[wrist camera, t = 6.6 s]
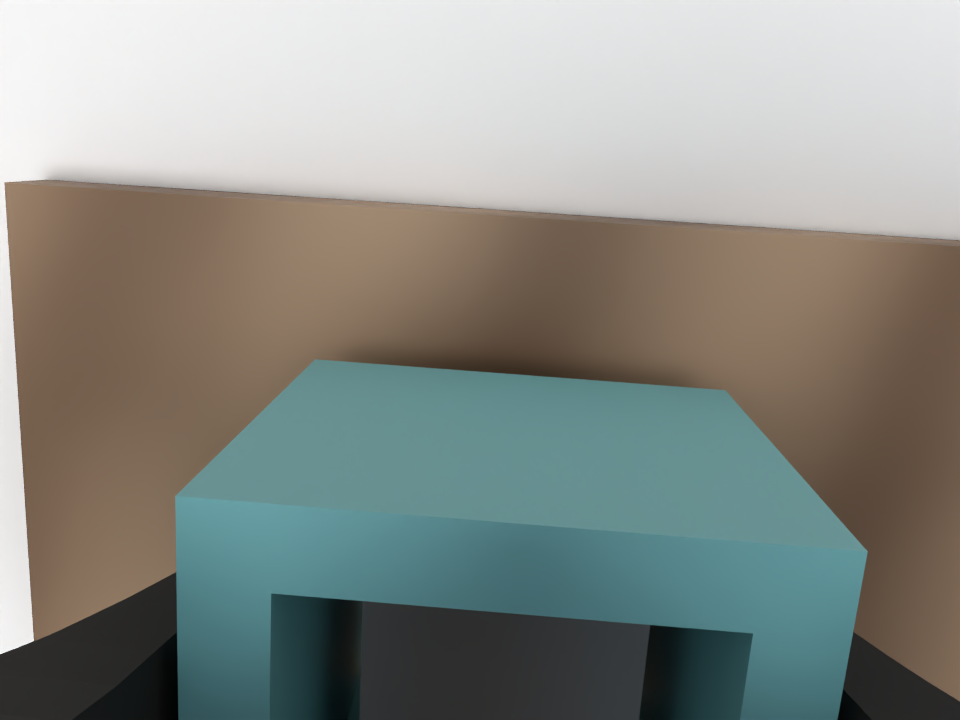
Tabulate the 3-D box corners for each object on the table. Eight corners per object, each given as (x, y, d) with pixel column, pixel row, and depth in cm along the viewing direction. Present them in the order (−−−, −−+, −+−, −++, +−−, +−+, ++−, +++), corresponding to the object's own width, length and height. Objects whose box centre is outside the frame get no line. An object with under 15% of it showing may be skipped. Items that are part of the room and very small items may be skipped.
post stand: (1027, 245, 14) (1406, 317, 8) (914, 780, 16) (1143, 1144, 10) (46, 179, 15) (-291, 201, 9) (73, 708, 17) (-173, 1018, 11)
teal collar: (725, 390, 12) (867, 551, 7) (676, 750, 13) (768, 1099, 8) (315, 359, 12) (174, 496, 7) (306, 718, 13) (182, 1042, 8)
